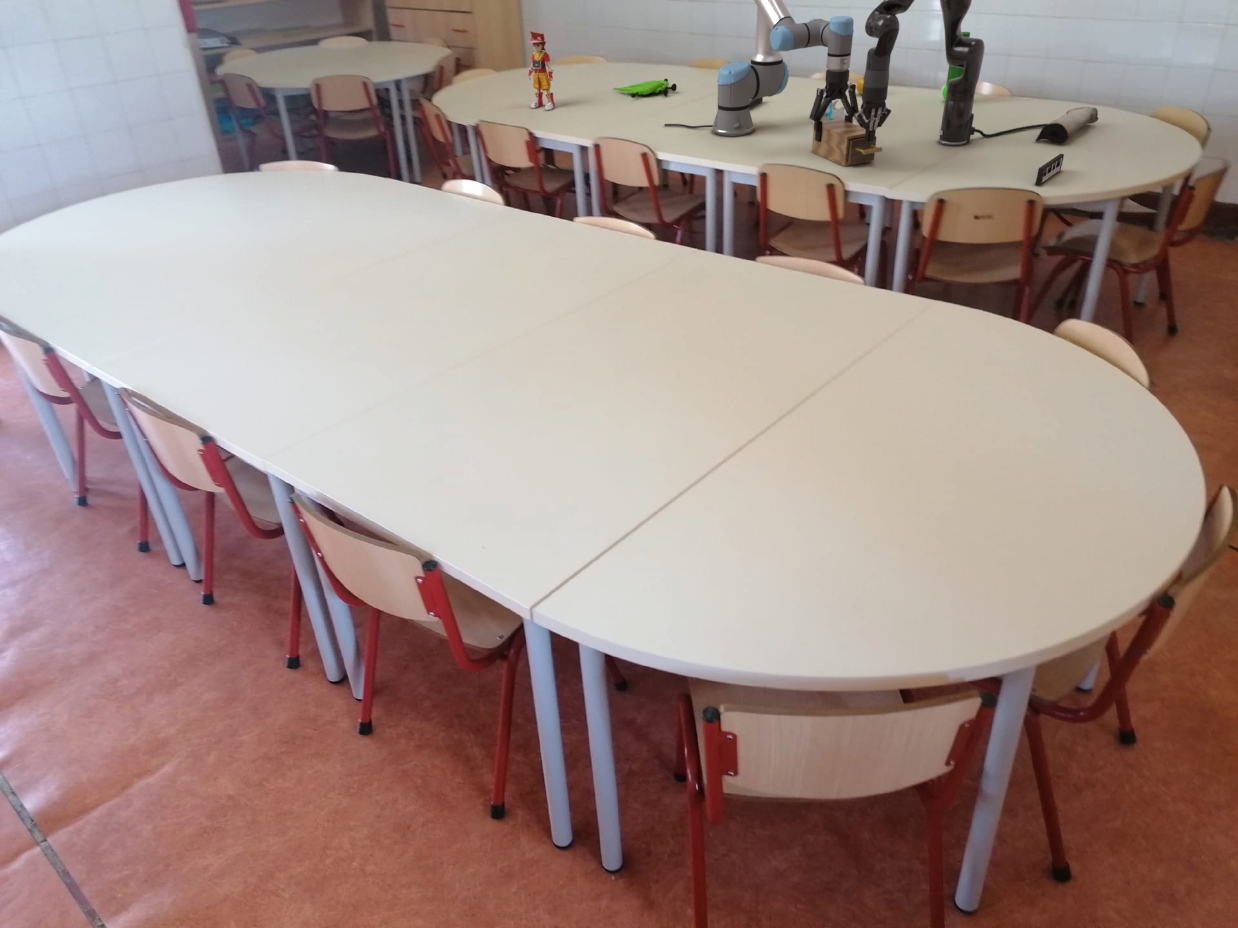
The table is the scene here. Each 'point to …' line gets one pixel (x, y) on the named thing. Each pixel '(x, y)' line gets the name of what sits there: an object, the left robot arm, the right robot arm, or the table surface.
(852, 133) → the cabinet
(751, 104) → the disk drive
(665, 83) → the toy
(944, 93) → the plastic bottle
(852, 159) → the drawer
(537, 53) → the toy
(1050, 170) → the midi keyboard
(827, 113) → the anatomical model
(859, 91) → the fruit
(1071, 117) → the rolled mat
